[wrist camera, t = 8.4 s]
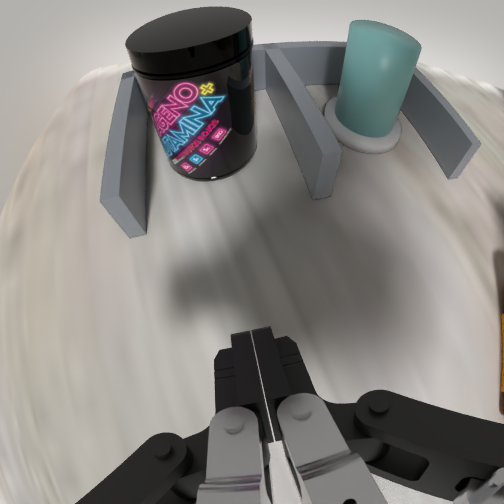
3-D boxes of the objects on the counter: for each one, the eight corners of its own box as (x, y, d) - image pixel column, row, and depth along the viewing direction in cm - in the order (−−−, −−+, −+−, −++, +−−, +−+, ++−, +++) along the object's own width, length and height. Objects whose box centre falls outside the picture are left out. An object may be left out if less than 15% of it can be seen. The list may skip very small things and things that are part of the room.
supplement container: (158, 143, 22) (118, 32, 12) (233, 112, 23) (221, 0, 13) (186, 202, 19) (136, 68, 10) (274, 163, 20) (277, 27, 11)
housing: (457, 178, 19) (507, 100, 11) (129, 238, 18) (58, 145, 10) (382, 77, 25) (400, 9, 17) (136, 109, 24) (107, 31, 16)
